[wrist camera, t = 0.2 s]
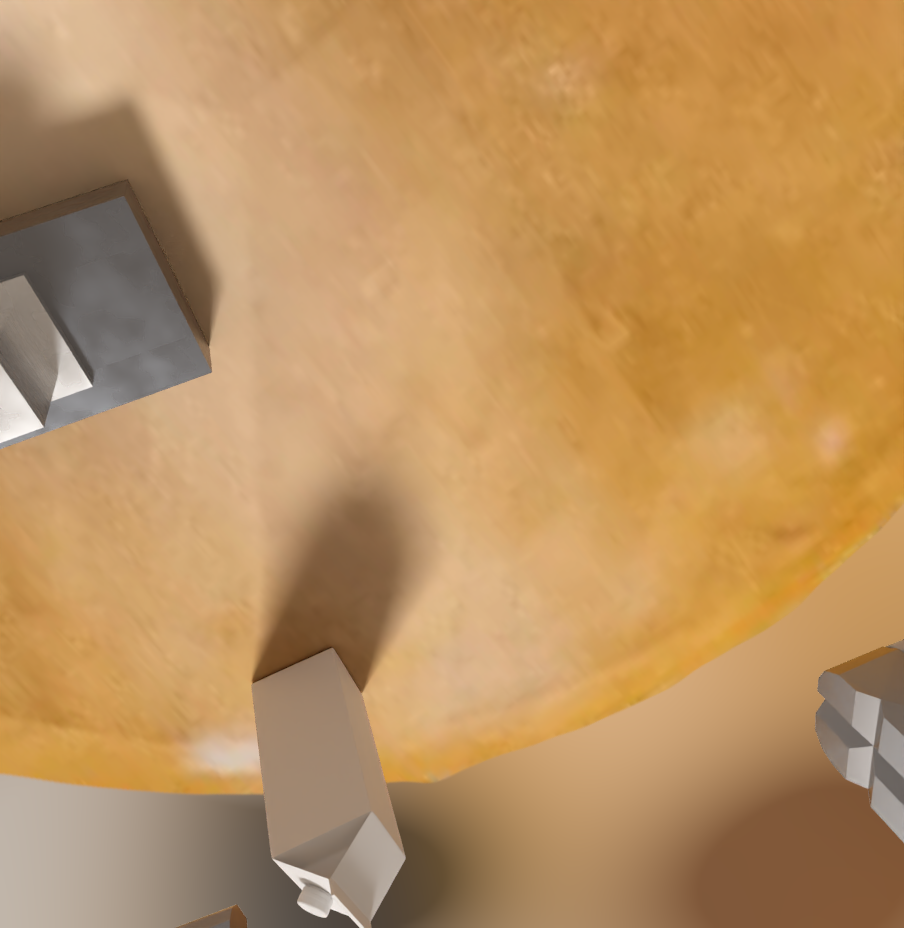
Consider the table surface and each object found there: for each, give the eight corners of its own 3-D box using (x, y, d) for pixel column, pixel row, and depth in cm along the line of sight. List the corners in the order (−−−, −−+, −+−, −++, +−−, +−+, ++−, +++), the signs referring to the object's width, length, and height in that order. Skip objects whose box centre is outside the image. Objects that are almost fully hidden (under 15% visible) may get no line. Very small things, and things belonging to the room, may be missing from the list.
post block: (-190, 283, 37) (-220, 309, 34) (127, 179, 39) (124, 196, 36) (-61, 443, 43) (-77, 476, 40) (209, 347, 45) (212, 372, 42)
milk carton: (332, 644, 61) (386, 869, 46) (362, 694, 65) (421, 914, 50) (250, 682, 60) (277, 922, 45) (286, 729, 64) (322, 963, 49)
